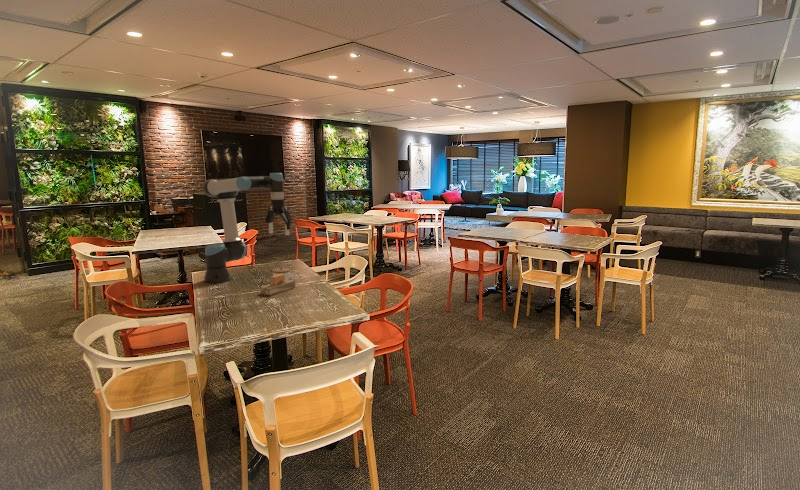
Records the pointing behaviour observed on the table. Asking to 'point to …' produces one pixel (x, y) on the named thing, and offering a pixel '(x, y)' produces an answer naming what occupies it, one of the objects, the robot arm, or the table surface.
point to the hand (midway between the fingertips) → (279, 234)
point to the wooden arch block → (277, 279)
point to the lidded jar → (282, 272)
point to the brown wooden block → (277, 287)
